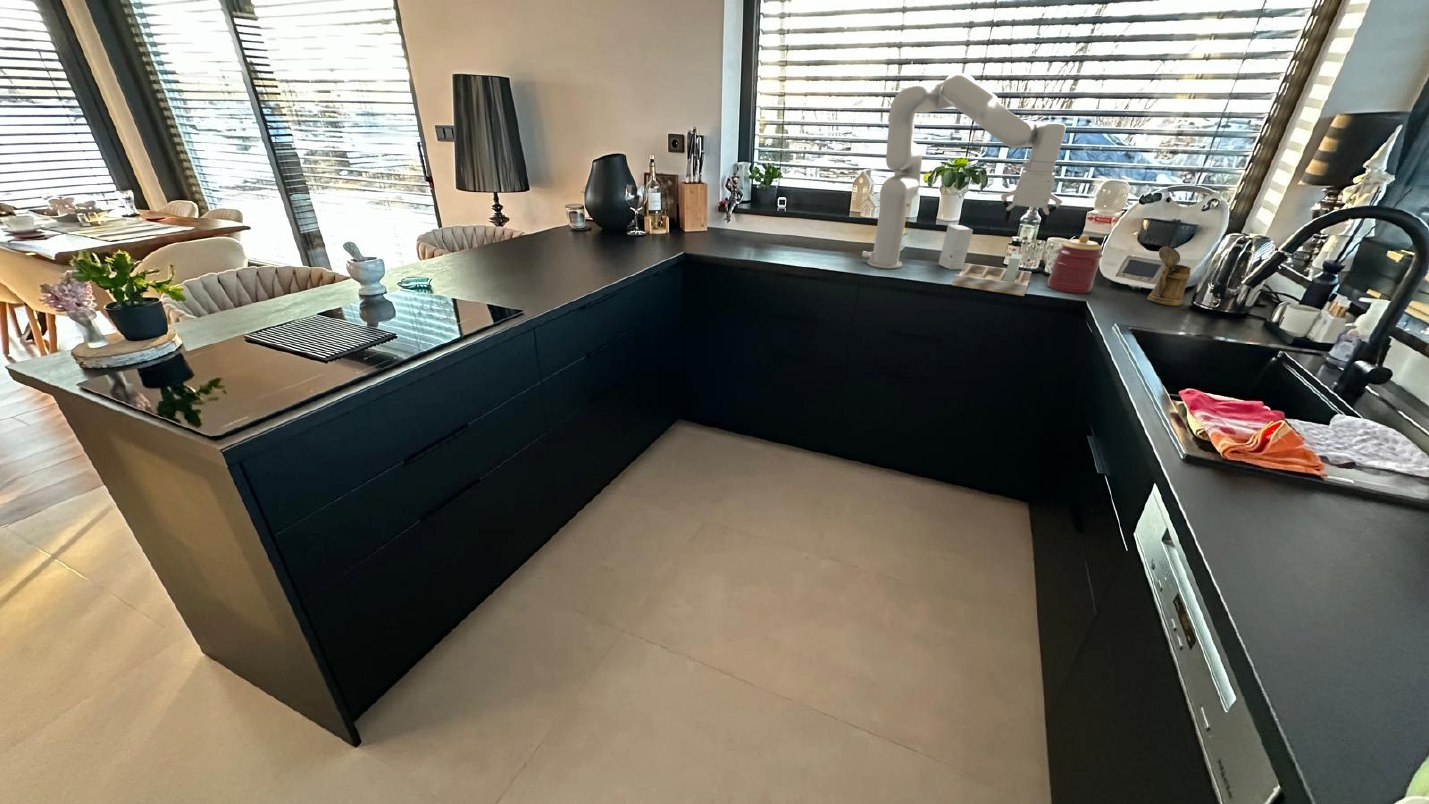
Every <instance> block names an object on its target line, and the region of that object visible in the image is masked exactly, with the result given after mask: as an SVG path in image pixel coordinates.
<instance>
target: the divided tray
mask: <svg viewBox="0 0 1429 804" xmlns="http://www.w3.org/2000/svg"><path fill="white" fill-rule="evenodd" d="M1006 271H1007V268H1004V267H996V266H988V265H982V264H975V263H974V264H972V263H965V262H964V264H963V268H962V269H961V271H960V272H959V273H958V274H955V273H954V274H953V277H952V282H951V286H954V287H960V288H961V287H962V288H967V289H968V288H969V289H976V290H982V291H989V292H995V293H1000V294H1001V293H1002V294H1008V295H1015V296H1020V297H1021V296H1022V297H1024V296H1025V294H1026V292H1027V289H1028V286H1029V283H1030V280H1031V276H1032V271H1026V270H1025V271H1024V270H1019V269H1018V272H1017V276H1016V280H1015V282H1014V283H1013V282H1006V281H1004V278H1005V274H1006Z"/></svg>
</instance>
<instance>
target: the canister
mask: <svg viewBox="0 0 1429 804" xmlns="http://www.w3.org/2000/svg"><path fill="white" fill-rule="evenodd" d="M1089 239H1090V237H1089V235H1088V234H1081V235H1080V236H1079V238H1078V239H1075V238H1074V239H1068V240H1066V241H1064V242H1061V246H1062V247H1060V248H1058V249H1057V250H1056V252H1057V255H1056V258H1054V259H1053V265H1052V268H1051V271H1050V275H1049V277H1048V278H1047V279H1048V280H1047V286H1048V288H1051V289H1053V290H1055V291H1059V292H1060V291H1061V292H1065V293H1070V294H1071V293H1073V294H1086V293H1089V292H1090V291H1091V289H1092V288H1093V285H1094V280H1095V277H1096V276H1097V275H1096V274H1097V271H1098V269H1099V267H1100V265H1099V263H1100V262H1099V261H1100V259H1101V258H1103V254H1102V253H1101V252H1100V251H1101V250H1102V249H1103V247H1102V246H1101V245H1099V243H1098V242H1097V241H1093V240H1089Z"/></svg>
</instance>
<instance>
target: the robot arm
mask: <svg viewBox="0 0 1429 804" xmlns="http://www.w3.org/2000/svg"><path fill="white" fill-rule="evenodd" d="M951 107H954V109H956V110H958V111H959V112H960V113H962V114H964V115H965V116H966V117H967V118H969V119H971V120H972V121H973V122H975V123H976V125H978V126H979V127H980V128H982V129H983V130H984V131H986V132H987V133H988V134H989V135H990V136H992V137H993V138H995V139H996V140H998V141H999V142H1001V143H1002V144H1003V145H1004V146H1005V145H1006V146H1007V147H1009V148H1011V149H1021V148H1031V151H1030V155H1029V157H1028V160H1027V161H1025V162H1022V165H1021V168H1025V170H1023V171H1021V174H1020V177H1019V179H1018V181H1017V183H1016V184H1017V185H1016V186H1015V189H1014V190H1011V191H1009V192H1006V193H1003V194H1001V196H1000V198H1001V201H1002V205H1003V206H1004V207H1005V209H1006V213H1005V216H1004V221H1005V224H1006V225H1008V224H1009V223H1010V221H1011V216H1012V213H1013V210H1012V209H1013V208H1014V207H1016V206H1018V207H1026V208H1027V207H1028V208H1035V209H1036V208H1037V209H1042V211H1043V213H1042V215H1041V219H1040V222H1039V225H1038V227H1039V228H1041V229H1042V226H1045V225H1046V221H1047V218H1048V216H1049V214H1052V213H1053V212H1054V211H1056V210H1057V209H1058V208H1059V206H1061V204H1062V203H1063V199H1061V198H1059V197H1058V196H1057V195H1055V194H1054V193H1052V192H1053V189H1054V184H1055V177H1056V173H1054V169H1055V166H1056V163H1057V160H1058V158H1059V157H1058V156H1059V153H1060V150H1061V147H1062V144H1063V141H1064V136H1065V134H1066V130H1067V126H1066V125H1065V123H1061V122H1060V123H1059V122H1035V121H1031V120H1024V119H1022V118H1020V117H1019V116H1017V115H1016V114H1014V113H1013V112H1011V111H1010V110H1008V109H1007V108H1006V107H1005V106H1004V105H1003V104H1002V103H1001V102H1000V100H999V98H998V96H997V95H995V93H993V92H991V91H990V90H988V89H986V88H985V87H983V86H982V85H981V84H979V83H977V81H976V80H975V79H974V77H973V76H971V75H970V74H967V73H963V72H954V73H952V74H950V75H948V76H947V77H946V78H945V79H944V80H941V81H938V82H935V83H923V82H917V83H911V84H909V85H908V86H906V87H904V88H903V89H902V90H900V91H899V92H898V93H897V95H895V97H894V99H893V101H892V103H891V105H890V108H889V116H888V131H887V132H888V133H887V141H886V142H887V143H886V154H885V155H886V156H885V162H886V166H887V168H889V170H891V171H894V175H893V176H891V177H888V178H887V179H886V180H884V182H883V184H882V185H881V188H880V193H879V209H878V210H879V211H878V212H879V213H878V219H877V226H876V232H875V237H874V238H875V241H874V245H873V251H866V250H862V252H861V256H862V257H863V258H869V259H868V260H867V265H868V266H871V267H875V268H879V269H886V270H887V269H891V270H892V269H899V268H901V267H903V262H902V261H901V260H899V259H900V254H901V250H902V249H901V248H902V241H903V237H904V231H905V225H906V224H905V223H906V219H907V202H908V201H911V200H912V199H914V197H916V195H917V194H918V193H919V188H920V184H921V183H920V182H921V172H922V171H921V170H922V160H923V155H922V154H923V153H922V150H921V149H922V148H921V147H920V145H919V144H917V142H914V136H915V135H914V133H915V119H914V118H915V115H916V113H921V114H924V113H926V114H927V113H932V112H935V111H939V110H944V109H947V108H951ZM1011 196H1013V197H1012V202H1011V204H1010V203H1009V201H1008V197H1011ZM1050 200H1052V201H1054V202H1055V203H1054V204H1053V206H1051V207H1050V208H1049V206H1048V205H1049V202H1050Z"/></svg>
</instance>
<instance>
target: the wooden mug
mask: <svg viewBox="0 0 1429 804" xmlns="http://www.w3.org/2000/svg"><path fill="white" fill-rule="evenodd" d="M1158 255H1159V259H1160V260H1161V261H1162V262H1163V263H1164V266H1165V267H1164V268H1163V270H1162V271H1161V272H1160V273H1161V275H1160V277H1158V280H1157V281H1156V284H1155V286H1154V287H1153V289H1152V291H1151V292H1150V293H1149V295H1148V296H1147V298H1146V300H1147V301H1149V302H1150V303H1154V304H1158V305H1161V306H1162V305H1164V306H1169V307H1170V306H1171V307H1178V306H1179V305H1180V306H1181V305H1183V301H1184V298H1183V297H1184V295H1185V291H1186V288H1187V287H1186V286H1187V283H1188V280H1189V278H1190V277H1191V270H1192V268H1191V267H1190V266H1188V265H1187V266H1186V265H1183V264H1179V263H1180V261H1181V254H1180V253H1179V251H1177V250H1176V249H1175V248H1174V247H1172V246H1170V245H1165V246H1162V247H1160V249H1159V250H1158Z"/></svg>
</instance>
